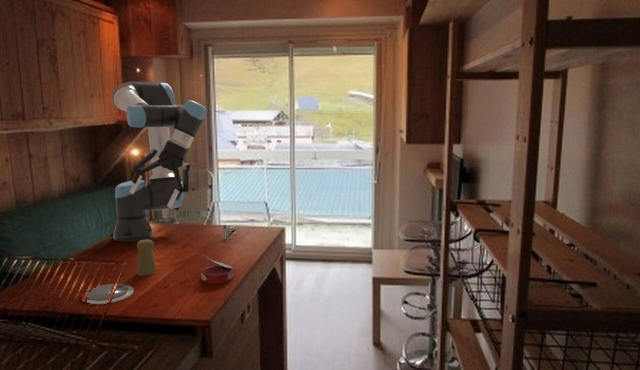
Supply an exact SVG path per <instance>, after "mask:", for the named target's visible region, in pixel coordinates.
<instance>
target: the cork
mask: <svg viewBox="0 0 640 370" xmlns="http://www.w3.org/2000/svg"><path fill="white" fill-rule="evenodd" d="M154 247H155V243H154V241H153V240H152V239H150V238H149V239H145V240H140V241H137V244H136V248H137V251H138V258H137V268H136V271H137V272H136V274H137V276H140V277H149V276H153V275H155V274H156V273H157V266H156V261H155V257H154V252H153V249H154Z"/></svg>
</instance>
